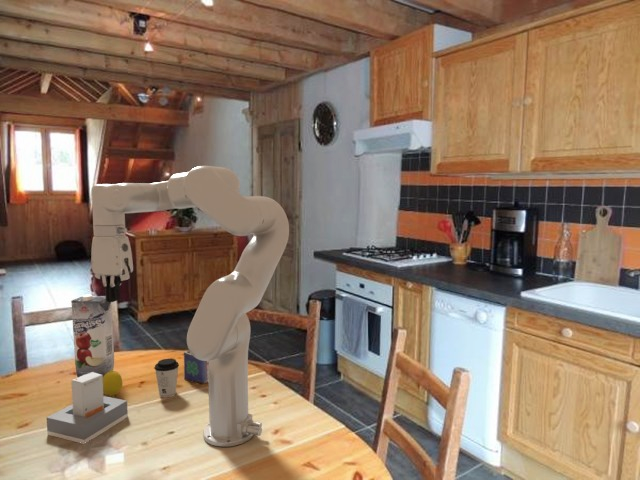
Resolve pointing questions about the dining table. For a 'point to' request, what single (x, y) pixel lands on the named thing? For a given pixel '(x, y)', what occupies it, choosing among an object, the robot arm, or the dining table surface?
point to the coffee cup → (167, 377)
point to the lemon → (112, 383)
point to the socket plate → (86, 421)
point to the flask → (195, 369)
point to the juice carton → (93, 335)
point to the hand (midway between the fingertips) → (113, 300)
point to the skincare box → (87, 394)
